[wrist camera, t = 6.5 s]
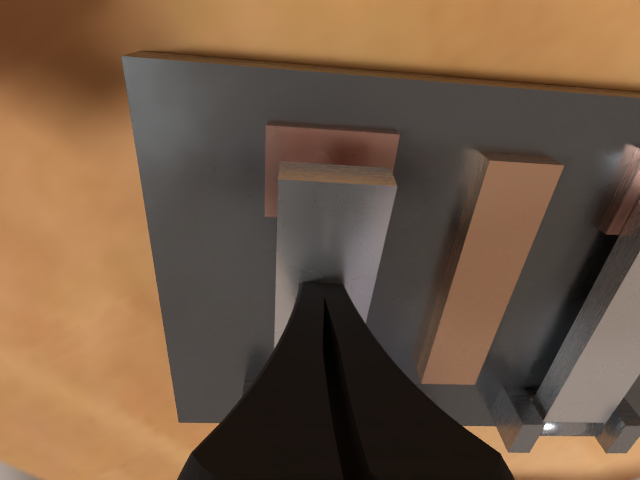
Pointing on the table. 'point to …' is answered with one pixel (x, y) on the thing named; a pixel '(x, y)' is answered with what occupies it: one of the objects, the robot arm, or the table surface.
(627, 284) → the bar
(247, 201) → the plate
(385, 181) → the bar
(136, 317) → the table surface
